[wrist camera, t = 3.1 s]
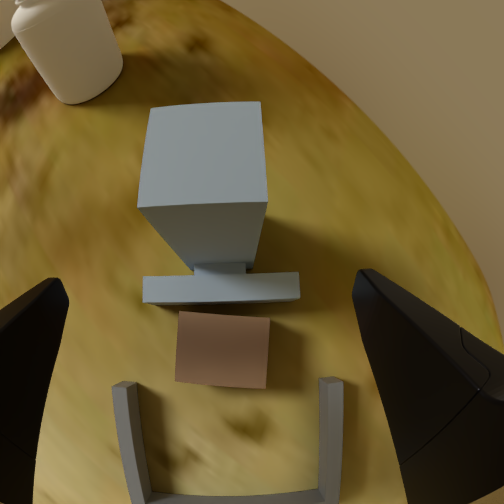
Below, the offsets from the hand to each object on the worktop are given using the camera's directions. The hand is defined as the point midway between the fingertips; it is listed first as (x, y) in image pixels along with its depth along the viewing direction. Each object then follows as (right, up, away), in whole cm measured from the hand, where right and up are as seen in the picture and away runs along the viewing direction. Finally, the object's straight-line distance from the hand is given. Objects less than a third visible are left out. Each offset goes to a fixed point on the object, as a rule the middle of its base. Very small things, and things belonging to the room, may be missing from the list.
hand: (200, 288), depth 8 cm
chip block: (0, -5, +10) cm, 12 cm away
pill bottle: (-15, +19, +15) cm, 29 cm away
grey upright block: (-1, +1, +11) cm, 11 cm away
